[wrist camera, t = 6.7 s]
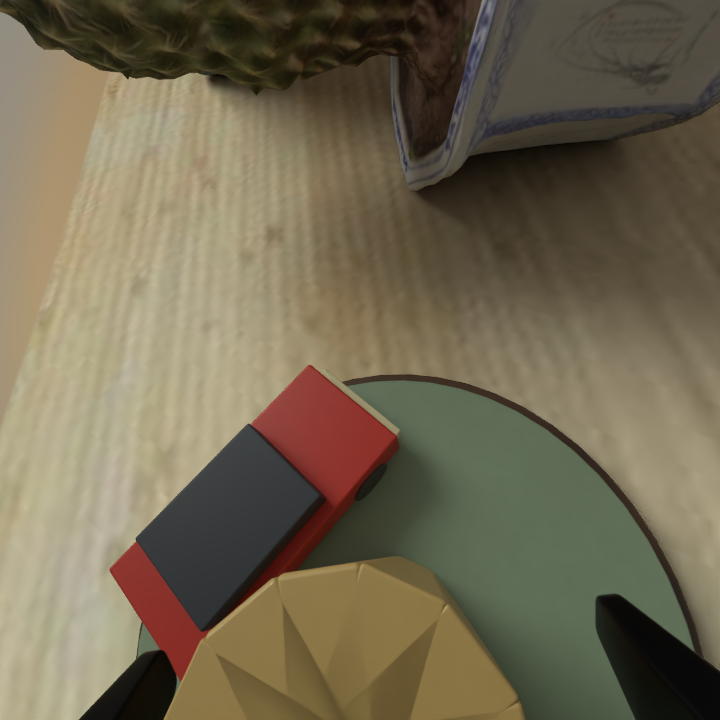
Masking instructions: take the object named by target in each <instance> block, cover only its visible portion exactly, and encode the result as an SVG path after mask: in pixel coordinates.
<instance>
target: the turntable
mask: <svg viewBox="0 0 720 720" xmlns="http://www.w3.org/2000/svg"><path fill="white" fill-rule="evenodd" d="M109 570H110V572H111V574H112V575H113V577H114V579H115V580H116V582H117V583H118V585H119V586H120V588H121V589H122V591H123V593H124V594H125V596H126V597H127V599H128V600H129V602H130V603H131V605H132V607H133V608H134V610H135V611H136V613H137V614H138V616H139V617H140V619H141V621H142V622H143V626H142V631H141V635H140V640H139V648H138V657H139V656H140V655H141V654H143V653H144V652H147V651H154V650H163V651H165V652H166V654H167V656H168V658H169V660H170V662H171V664H172V666H173V668H174V671H175V673H176V676H177V687H176V692H175V696H174V698H173V700H172V703H171V705H170V707H169V709H168V711H167V713H166V715H165V718H164V720H635V718H634V716H633V713H632V711H631V709H630V707H629V704H628V702H627V700H626V698H625V695H624V693H623V691H622V689H621V687H620V684H619V682H618V680H617V678H616V675H615V673H614V671H613V669H612V666H611V664H610V662H609V660H608V657H607V655H606V653H605V651H604V649H603V646H602V644H601V642H600V639H599V637H598V634H597V631H596V626H595V600H596V597H597V596H598V595H604V594H612V593H616V594H619V595H621V596H623V597H624V598H625V599H627V600H628V601H629V602H630V603H632V604H633V605H634V606H636V607H637V608H638V609H640V610H641V611H642V612H644V613H645V614H646V615H647V616H649V617H650V618H651V619H653V620H654V621H655V622H657V623H658V624H659V625H660V626H662V627H663V628H664V629H666V630H667V631H668V632H670V633H671V634H672V635H673V636H675V637H676V638H677V639H679V640H680V641H681V642H683V643H684V644H685V645H686V646H688V647H689V648H690V649H692V650H693V651H694V652H695V650H694V646H693V643H692V639H691V636H690V632H689V629H688V625H687V622H686V620H685V617H684V615H683V612H682V610H681V607H680V605H679V602H678V600H677V597H676V595H675V593H674V590H673V588H672V585H671V583H670V580H669V578H668V576H667V574H666V573H665V571H664V569H663V567H662V565H661V563H660V561H659V559H658V558H657V556H656V554H655V552H654V550H653V548H652V546H651V544H650V543H649V541H648V539H647V538H646V536H645V535H644V533H643V532H642V530H641V529H640V527H639V526H638V524H637V523H636V521H635V520H634V518H633V517H632V516H631V514H630V513H629V511H628V510H627V508H626V507H625V505H624V504H623V503H622V502H621V501H620V499H619V498H618V497H617V496H616V495H615V493H614V492H613V491H612V490H611V489H610V487H609V486H608V485H607V484H606V483H605V482H604V480H603V479H602V478H601V477H600V476H599V475H598V474H597V473H596V472H595V471H594V470H593V469H592V468H591V467H590V466H589V465H588V464H587V463H586V462H585V461H584V460H583V459H582V458H581V457H580V456H579V455H578V454H577V453H575V452H574V451H573V450H572V449H571V448H570V447H568V446H567V445H566V444H564V443H563V442H562V441H561V440H559V439H558V438H557V437H555V436H554V435H553V434H552V433H550V432H549V431H548V430H546V429H545V428H543V427H542V426H540V425H539V424H537V423H535V422H534V421H532V420H530V419H529V418H527V417H525V416H524V415H522V414H520V413H519V412H517V411H515V410H513V409H511V408H509V407H507V406H504V405H502V404H500V403H498V402H496V401H494V400H491V399H489V398H487V397H484V396H481V395H478V394H475V393H472V392H468V391H465V390H462V389H459V388H454V387H450V386H445V385H440V384H435V383H428V382H416V381H403V380H402V381H377V382H370V383H363V384H357V385H351V386H346V385H345V384H343V383H342V382H341V381H340V380H338V379H337V378H336V377H335V376H333V375H332V374H331V373H330V372H328V371H327V370H326V369H323V370H322V371H321V372H319V371H317V370H316V369H315V368H314V367H313V366H311V365H308V366H307V367H306V368H305V369H304V370H303V371H302V372H301V373H300V374H299V375H298V376H297V377H296V378H295V380H294V381H293V382H292V383H291V384H290V385H289V386H288V387H287V388H286V389H285V390H284V391H283V392H282V393H281V394H280V395H279V396H278V397H277V398H276V399H275V400H274V401H273V402H272V403H271V404H270V405H269V406H268V407H267V408H266V409H265V410H264V411H263V412H262V413H261V414H260V415H259V416H258V417H257V418H256V419H255V420H254V421H253V422H252V423H251V425H250V424H247V425H246V426H245V427H244V428H243V429H242V430H241V431H240V432H239V433H238V434H237V435H236V436H235V437H234V438H233V439H232V440H231V441H230V442H229V443H228V444H227V445H226V446H225V447H224V448H223V449H222V450H221V452H220V453H219V454H218V455H217V456H216V457H215V458H214V459H213V460H212V461H211V462H210V463H209V464H208V465H207V466H206V467H205V468H204V469H203V470H202V471H201V472H200V473H199V474H198V475H197V476H196V477H195V478H194V479H193V480H192V481H191V482H190V483H189V484H188V485H187V486H186V487H185V488H184V489H183V490H182V491H181V492H180V493H179V494H178V495H177V496H176V497H175V498H174V499H173V500H172V501H171V503H170V504H169V505H168V506H167V507H166V508H165V509H164V510H163V511H162V512H161V513H160V514H159V515H158V516H157V517H156V518H155V519H154V520H153V521H152V522H151V523H150V524H149V525H148V526H147V527H146V528H145V529H144V530H143V531H142V532H141V533H140V534H139V535H138V536H137V537H136V542H135V543H134V544H133V545H132V546H131V547H130V548H129V549H128V550H127V551H126V552H125V553H124V554H123V555H122V556H121V557H120V559H119V560H118V561H117V562H116V563H115V564H114V565H113V566H112V567H111V568H110V569H109ZM138 657H137V658H138Z"/></svg>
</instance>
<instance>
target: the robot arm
mask: <svg viewBox="0 0 720 720" xmlns="http://www.w3.org/2000/svg"><path fill="white" fill-rule="evenodd" d="M595 626H596V631H597V634H598V637H599V639H600V642H601V644H602V646H603V649H604V651H605V653H606V655H607V657H608V660H609V662H610V664H611V666H612V669H613V671H614V673H615V675H616V678H617V680H618V682H619V684H620V687H621V689H622V691H623V693H624V695H625V698H626V700H627V702H628V704H629V707H630V709H631V711H632V713H633V716H634V718H635V720H720V671H719V670H718V669H716V668H715V667H714V666H713V665H711V664H710V663H709V662H707V661H706V660H705V659H703V658H702V657H701V656H700V655H698V654H697V653H696V652H694V651H693V650H692V649H690V648H689V647H688V646H686V645H685V644H684V643H683V642H681V641H680V640H679V639H677V638H676V637H675V636H673V635H672V634H671V633H670V632H668V631H667V630H666V629H664V628H663V627H662V626H660V625H659V624H658V623H657V622H655V621H654V620H653V619H651V618H650V617H649V616H647V615H646V614H645V613H644V612H642V611H641V610H640V609H638V608H637V607H636V606H634V605H633V604H632V603H630V602H629V601H628V600H627V599H625V598H624V597H623V596H621V595H619V594H616V593H612V594H604V595H598V596H597V597H596V600H595ZM176 687H177V676H176V673H175V671H174V668H173V666H172V664H171V662H170V660H169V658H168V656H167V654H166V652H165V651H163V650H154V651H147V652H144V653H143V654H141V655H140V656H139V657H138V658H137V659H136V660H135V661H134V662H133V663H132V664H131V665H130V666H129V668H128V669H127V670H126V671H125V672H124V673H123V674H122V675H121V676H120V677H119V678H118V679H117V680H116V681H115V682H114V683H113V684H112V685H111V686H110V687H109V688H108V690H107V691H106V692H105V693H104V694H103V695H102V696H101V697H100V698H99V699H98V700H97V701H96V702H95V703H94V704H93V705H92V706H91V707H90V708H89V709H88V710H87V712H86V713H85V714H84V715H83V716H82V717H81V718H80V719H79V720H164V718H165V715H166V713H167V711H168V709H169V707H170V705H171V703H172V700H173V698H174V696H175V692H176Z"/></svg>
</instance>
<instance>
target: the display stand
mask: <svg viewBox="0 0 720 720" xmlns="http://www.w3.org/2000/svg"><path fill="white" fill-rule="evenodd" d="M402 380H403V381H416V382H428V383H435V384H440V385H445V386H450V387H454V388H459V389H462V390H465V391H468V392H472V393H475V394H478V395H481V396H484V397H487V398H489V399H491V400H494V401H496V402H498V403H500V404H502V405H504V406H507V407H509V408H511V409H513V410H515V411H517V412H519V413H520V414H522V415H524V416H525V417H527V418H529V419H530V420H532V421H534V422H535V423H537V424H539V425H540V426H542V427H543V428H545V429H546V430H548V431H549V432H550V433H552V434H553V435H554V436H555V437H557V438H558V439H559V440H561V441H562V442H563V443H564V444H566V445H567V446H568V447H570V448H571V449H572V450H573V451H574V452H575V453H577V454H578V455H579V456H580V457H581V458H582V459H583V460H584V461H585V462H586V463H587V464H588V465H589V466H590V467H591V468H592V469H593V470H594V471H595V472H596V473H597V474H598V475H599V476H600V477H601V478H602V479H603V480H604V482H605V483H606V484H607V485H608V486H609V487H610V489H611V490H612V491H613V492H614V493H615V495H616V496H617V497H618V498H619V499H620V501H621V502H622V503H623V504H624V505H625V507H626V508H627V510H628V511H629V513H630V514H631V516H632V517H633V518H634V520H635V521H636V523H637V524H638V526H639V527H640V529H641V530H642V532H643V533H644V535H645V536H646V538H647V539H648V541H649V543H650V544H651V546H652V548H653V550H654V552H655V554H656V556H657V558H658V559H659V561H660V563H661V565H662V567H663V569H664V571H665V573H666V574H667V576H668V578H669V580H670V583H671V585H672V588H673V590H674V593H675V595H676V597H677V600H678V602H679V605H680V607H681V610H682V612H683V615H684V617H685V620H686V622H687V625H688V629H689V632H690V636H691V639H692V643H693V646H694V650H695V652H696V653H697V654H698V655H700V656H701V657H702V658H703V659H704V657H703V654H702V650H701V646H700V643H699V639H698V635H697V632H696V628H695V624H694V622H693V619H692V617H691V614H690V612H689V609H688V606H687V604H686V601H685V599H684V596H683V594H682V591H681V589H680V586H679V584H678V581H677V579H676V577H675V575H674V573H673V571H672V569H671V567H670V565H669V564H668V562H667V560H666V558H665V556H664V554H663V552H662V550H661V548H660V546H659V544H658V542H657V540H656V539H655V537H654V536H653V534H652V533H651V531H650V530H649V528H648V527H647V525H646V524H645V522H644V521H643V519H642V518H641V516H640V515H639V513H638V512H637V510H636V509H635V507H634V506H633V504H632V503H631V502H630V501H629V499H628V498H627V497H626V496H625V494H624V493H623V492H622V491H621V490H620V488H619V487H618V486H617V485H616V484H615V482H614V481H613V480H612V479H611V478H610V476H609V475H608V474H607V473H606V472H605V471H604V470H603V469H602V468H601V467H600V466H599V465H598V464H597V463H596V462H595V461H594V460H593V459H592V458H591V457H590V456H589V455H588V454H587V453H586V452H585V451H584V450H583V449H582V448H581V447H579V446H578V445H577V444H576V443H574V442H573V441H572V440H571V439H569V438H568V437H567V436H565V435H564V434H563V433H562V432H560V431H559V430H558V429H557V428H555V427H554V426H553V425H551V424H550V423H548V422H547V421H545V420H543V419H542V418H540V417H539V416H537V415H535V414H534V413H532V412H531V411H529V410H527V409H526V408H524V407H522V406H520V405H518V404H516V403H514V402H512V401H510V400H507V399H505V398H503V397H501V396H499V395H497V394H495V393H492V392H489V391H486V390H483V389H480V388H478V387H475V386H472V385H469V384H466V383H461V382H457V381H452V380H448V379H443V378H438V377H430V376H419V375H378V376H371V377H364V378H357V379H352V380H348V381H345V382H342V383H343V384H345V385H346V386H351V385H357V384H363V383H370V382H377V381H402ZM142 626H143V622H142V623H141V627H140V633H139V640H140V635H141V631H142ZM138 648H139V641H138ZM137 657H138V649H137V656H136V659H137Z"/></svg>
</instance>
